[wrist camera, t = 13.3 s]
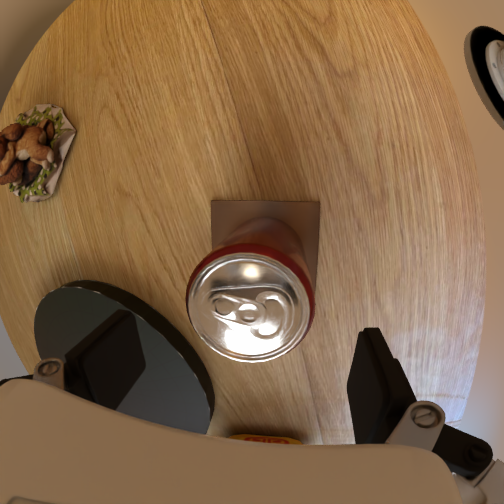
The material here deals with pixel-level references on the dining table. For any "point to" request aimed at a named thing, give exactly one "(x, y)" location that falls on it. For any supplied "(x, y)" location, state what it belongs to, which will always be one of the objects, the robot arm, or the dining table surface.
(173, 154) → the dining table surface
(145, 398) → the disc
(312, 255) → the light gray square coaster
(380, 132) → the dining table surface
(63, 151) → the bear figurine
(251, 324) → the soda can
